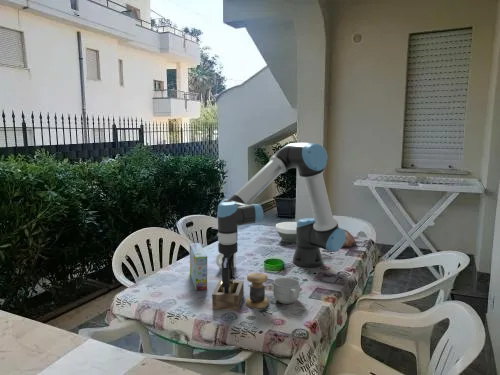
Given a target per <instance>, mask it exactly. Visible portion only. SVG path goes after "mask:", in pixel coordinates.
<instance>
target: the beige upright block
mask: <svg viewBox="0 0 500 375" xmlns="http://www.w3.org/2000/svg"><path fill="white" fill-rule="evenodd" d="M234 281H235V280H233V281H230V286H231V293H235V285H234ZM221 285H222V282H221ZM221 293H223V287H221Z"/></svg>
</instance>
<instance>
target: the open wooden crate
mask: <svg viewBox="0 0 500 375" xmlns="http://www.w3.org/2000/svg"><path fill="white" fill-rule="evenodd" d="M233 281H234V285H235V293H221V282H222V279H219V281H218V282H217V283H216V284H217V285H216V287H215V288H214V290H213V292H212V294H211V301H212V302H211V303H212V307H211V309H212V310H219V311H233V312H234V311H237V312H239V310H240V308H241V307H240V306H241V304H242V301H243V298H244V293H245V292H244V291H245V290H244V288H245V287H244V282H245V281H244V280H233Z"/></svg>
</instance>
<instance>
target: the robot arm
mask: <svg viewBox="0 0 500 375" xmlns="http://www.w3.org/2000/svg"><path fill="white" fill-rule="evenodd" d="M328 158H329V157H328V153H327V151H326V148H325V147H324V146H323V145H321V144H319V143H314V142H291V143H288V144H286V145H285V146H283V147H282V148H280V149H278V150H277V151H276V152H275V153H274V154H273V155H271V157H270V158H269V161H268V162H267V163H266V164H264V166H263V167H262V168H261V169H260V170H259V171H258V172H257V173H256V174H254V175H253V176H252V177H251V178H250V179H249V180H248V181H247V182H246V183H245V184H244V185H243V186H242V187H241V188H240V189H239V190H238V191H236V192H235V193H234V194H233V195H232V196H231V197H229V198H224V199H221V201H220V202H219V203H218V205H217V214H216V215H217V233H216V236H217V241H218V243H217V244H218V246H217V247H218V248H217V250H218V254H219V253H221V254H223V255H224V257H222V269H221V280H222V285H221V287H223V293H231V286H230V281H234V280H236V276H235V268H234V253H236V254H237V253H238V244H239V243H238V241H239V240H238V236H239V235H238V234H239V233H238V227H239V226H243V225H249V224H250V225H251V224H256V223H260V222H261V221H262V220H263V218H264V210H263V207H262V205H261V204H259V203H252V202H253V201H254V200H255V199H256V198H257V197H258V196H259V195H260V194H261V193H262V192H264V190H265V189H266V188H267V187H268V186H269V185H270V184H271V183H272V182H274V180H276V178H277V177H279V176H280V175H281V174H285V173H286V172H287V171H288V170H290V169H297V171H298V175H299V176H300V177H301V178H302V179H303V181H304V184H305V188H306V191H307V195H308V196H307V197H308V198H309V205H310V207H311V210H312V215H313V217H305V218H300V219H298V220H297V221H296V222H297V227H296V238H297V242H296V245H295V246H296V248H295V251H294V253H293V256H292V263H293V264H294V265H295V266H298V267H303V268H315V267H316V268H317V267H320V266H322V265H323V257H322V253H321V249H323V250H325V251H328V252H338V251H339V250H340V249H341V248H343V247H342V246H343V244H344V242H345V238H346V234H345V231H344V230H345V229H344V230H343V228H342V227H339V222H338V220H337V219H336V218H334V217H333V212H332V208H331V204H330V199H329V195H328V191H327V187H326V183H325V179H324V175H323V173H324V172H325V171H326V170H325V169H326V166H327V165H328V162H327V161H328ZM251 203H252V204H251Z"/></svg>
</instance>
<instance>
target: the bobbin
mask: <svg viewBox="0 0 500 375" xmlns="http://www.w3.org/2000/svg"><path fill="white" fill-rule="evenodd" d="M268 277H269V276H268V275H267V274H265V273H263V272H252V273H249V274H247V275H246V281H247V282H249V283H251V284H250V285H249V297H247V298H246V299H245V305H246V306H247V307H248V308H250V307H251V309H255V308H258V309H259V310H261V309H264V308H266V306H267V307H268V306H269V305H270V303H269V302H270V300H269V299H268V298H267V297H266V296H265V295H266V293H265V292H266V290H265V288H266V286H265V285H264V283H266V282H267V281H268ZM268 304H269V305H268Z"/></svg>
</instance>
